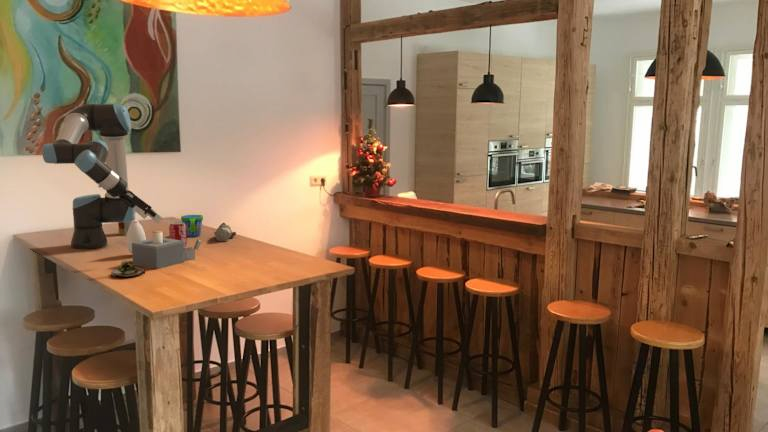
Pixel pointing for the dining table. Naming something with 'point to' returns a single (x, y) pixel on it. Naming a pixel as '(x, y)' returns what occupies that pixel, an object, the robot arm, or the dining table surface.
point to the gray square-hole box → (158, 253)
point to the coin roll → (157, 237)
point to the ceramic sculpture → (224, 232)
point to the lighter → (191, 251)
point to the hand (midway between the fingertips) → (153, 218)
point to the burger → (127, 270)
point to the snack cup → (192, 225)
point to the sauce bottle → (134, 234)
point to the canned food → (123, 227)
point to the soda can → (178, 232)
